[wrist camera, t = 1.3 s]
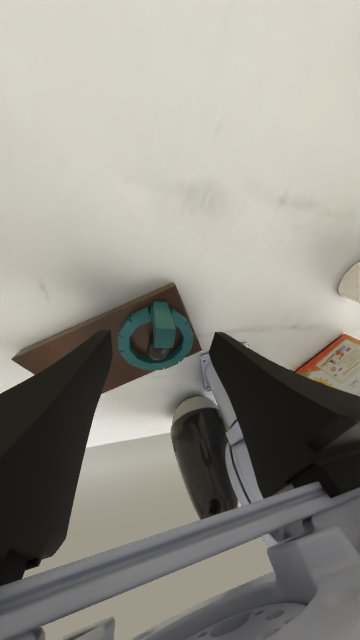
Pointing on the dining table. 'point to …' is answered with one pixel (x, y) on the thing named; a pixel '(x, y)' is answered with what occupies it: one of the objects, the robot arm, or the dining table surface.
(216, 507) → the pump dispenser
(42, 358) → the peg rack
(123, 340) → the ring
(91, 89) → the dining table surface
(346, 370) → the cracker box
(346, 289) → the cream cup
